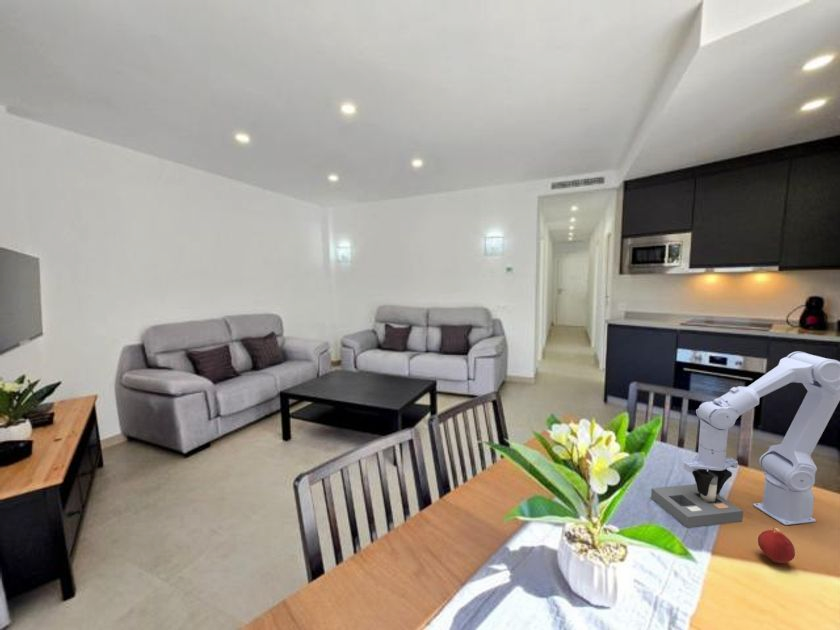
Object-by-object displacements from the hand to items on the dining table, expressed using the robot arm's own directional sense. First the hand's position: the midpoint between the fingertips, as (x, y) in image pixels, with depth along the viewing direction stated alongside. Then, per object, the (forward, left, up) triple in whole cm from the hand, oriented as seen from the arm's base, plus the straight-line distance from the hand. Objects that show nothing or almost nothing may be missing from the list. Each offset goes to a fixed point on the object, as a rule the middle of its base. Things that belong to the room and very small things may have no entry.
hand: (708, 493), depth 96 cm
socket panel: (+4, 0, -4) cm, 6 cm away
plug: (0, 0, -2) cm, 2 cm away
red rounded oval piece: (+2, +18, -5) cm, 19 cm away
